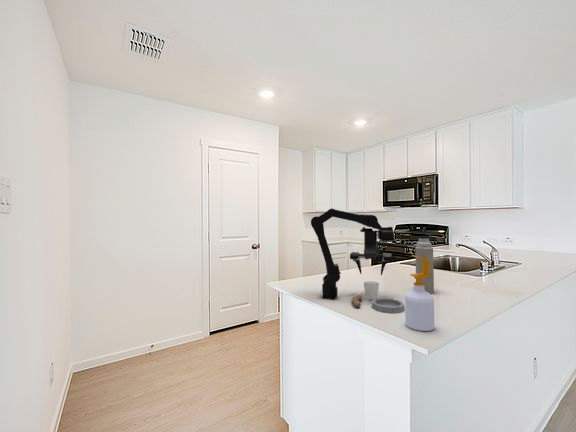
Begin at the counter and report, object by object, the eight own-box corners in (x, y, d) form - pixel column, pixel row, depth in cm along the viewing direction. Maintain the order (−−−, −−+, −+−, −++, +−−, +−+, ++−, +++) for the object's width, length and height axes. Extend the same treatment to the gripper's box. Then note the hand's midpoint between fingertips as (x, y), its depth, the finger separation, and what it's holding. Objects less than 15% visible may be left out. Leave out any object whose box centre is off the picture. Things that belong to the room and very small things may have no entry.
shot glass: (380, 300, 123) (379, 284, 124) (364, 299, 125) (364, 284, 125) (378, 295, 130) (377, 281, 130) (363, 295, 132) (363, 280, 132)
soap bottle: (400, 322, 98) (399, 253, 98) (424, 320, 98) (423, 253, 99) (414, 332, 89) (412, 257, 89) (440, 331, 90) (439, 256, 90)
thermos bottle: (417, 289, 141) (416, 235, 141) (434, 291, 137) (433, 235, 137) (415, 293, 134) (414, 236, 134) (433, 295, 130) (432, 236, 130)
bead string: (360, 309, 112) (360, 301, 112) (350, 308, 113) (350, 300, 113) (362, 300, 123) (362, 294, 123) (353, 300, 124) (352, 293, 124)
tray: (371, 311, 109) (371, 305, 109) (372, 302, 121) (372, 297, 121) (405, 314, 105) (405, 308, 105) (402, 304, 117) (402, 299, 117)
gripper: (348, 242, 123) (348, 276, 123) (392, 243, 117) (392, 279, 117) (351, 240, 134) (351, 272, 134) (391, 241, 127) (391, 274, 127)
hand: (370, 274), depth 128 cm, fingers open, 9 cm apart
